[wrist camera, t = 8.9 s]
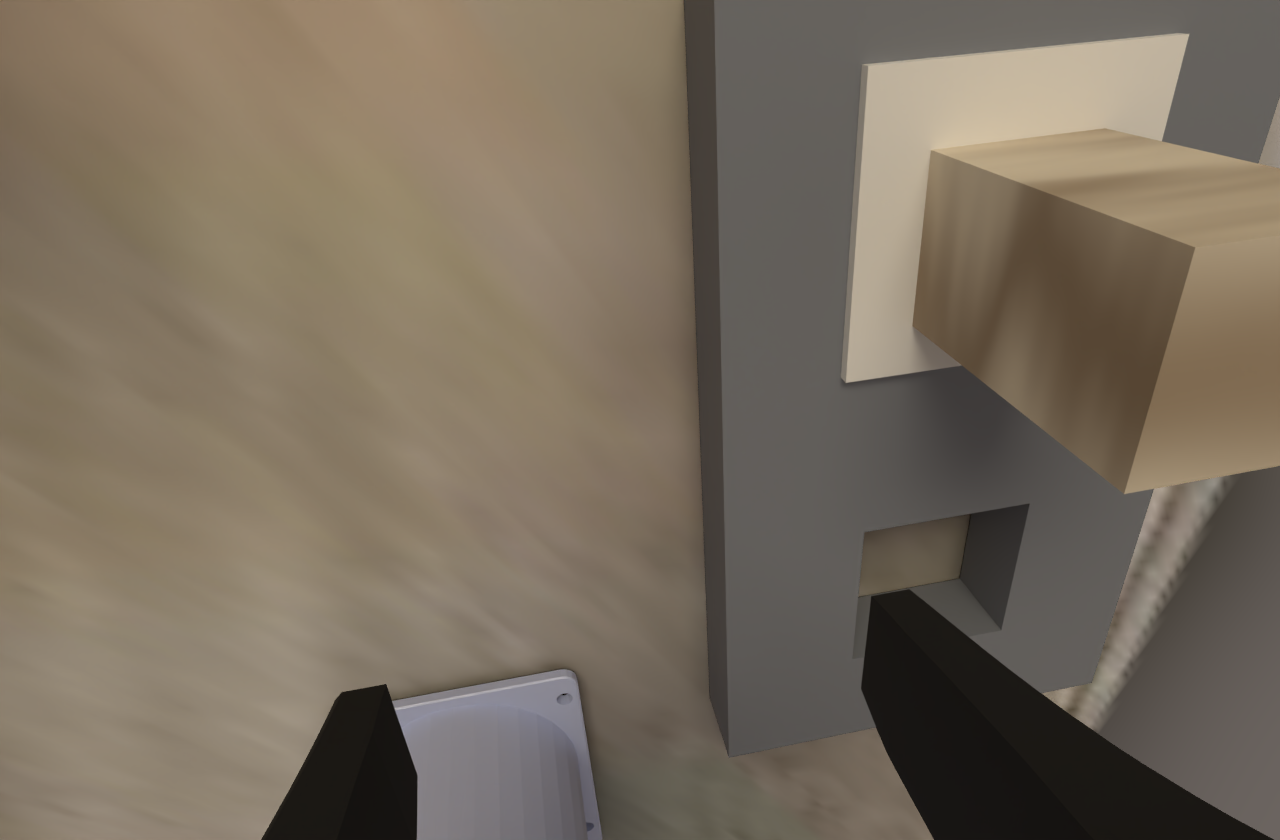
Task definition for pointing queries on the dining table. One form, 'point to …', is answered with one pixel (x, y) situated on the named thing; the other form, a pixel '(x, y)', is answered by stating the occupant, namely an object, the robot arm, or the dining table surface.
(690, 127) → the pocket plate
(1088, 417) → the peg
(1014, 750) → the robot arm
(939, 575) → the dining table surface
